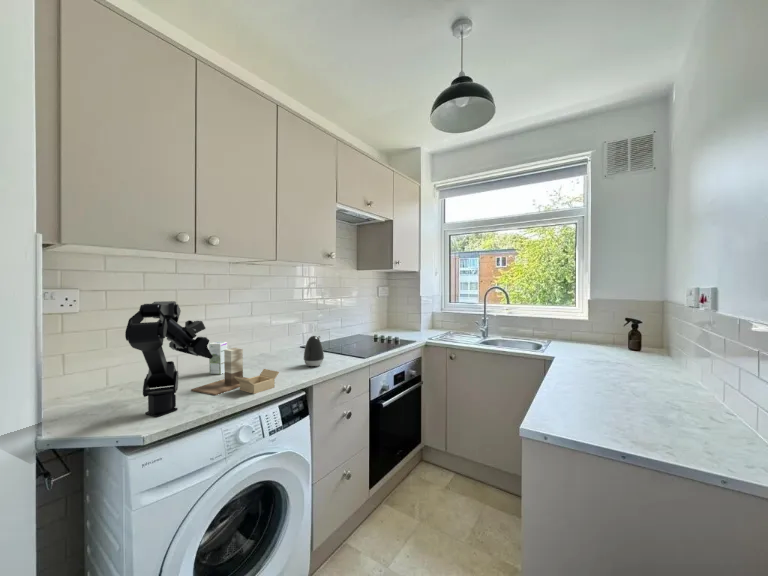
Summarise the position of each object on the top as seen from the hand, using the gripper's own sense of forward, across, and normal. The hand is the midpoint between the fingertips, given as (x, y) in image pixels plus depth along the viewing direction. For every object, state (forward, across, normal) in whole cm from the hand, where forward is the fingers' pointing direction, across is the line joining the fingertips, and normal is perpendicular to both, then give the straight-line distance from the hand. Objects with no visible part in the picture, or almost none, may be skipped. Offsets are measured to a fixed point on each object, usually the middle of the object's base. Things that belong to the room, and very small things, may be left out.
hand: (205, 356), depth 122 cm
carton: (+19, -14, +1) cm, 23 cm away
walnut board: (+16, 0, +4) cm, 16 cm away
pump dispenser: (+46, -7, -26) cm, 53 cm away
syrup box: (+22, +22, -3) cm, 31 cm away
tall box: (+17, -1, +2) cm, 17 cm away
